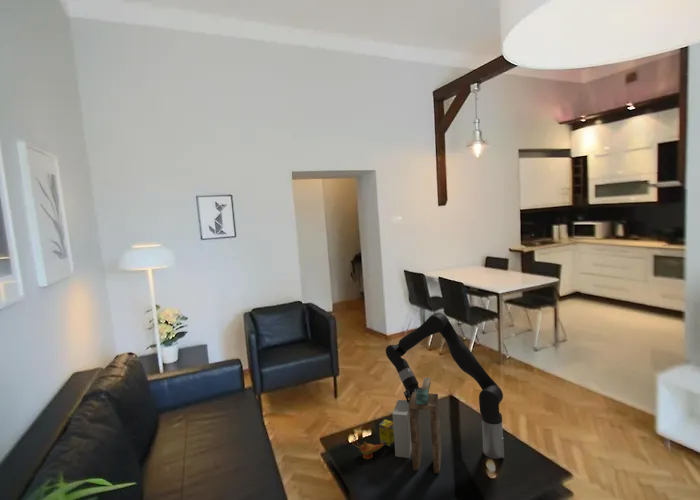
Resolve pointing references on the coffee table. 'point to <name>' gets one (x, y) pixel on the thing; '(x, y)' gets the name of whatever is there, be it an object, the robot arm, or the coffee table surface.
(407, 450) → the grey pedestal
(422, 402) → the mallet
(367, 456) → the magic lamp
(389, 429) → the supplement box
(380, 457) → the coffee table surface
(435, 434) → the brown tall legged stand
